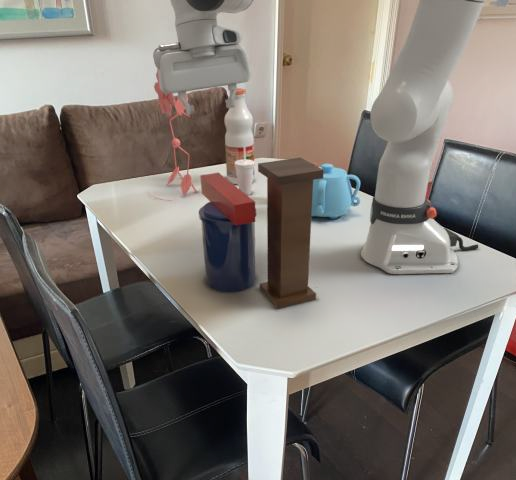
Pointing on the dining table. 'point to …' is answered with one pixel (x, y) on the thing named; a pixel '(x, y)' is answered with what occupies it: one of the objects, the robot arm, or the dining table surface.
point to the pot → (227, 251)
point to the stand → (289, 230)
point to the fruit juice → (238, 135)
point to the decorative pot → (333, 193)
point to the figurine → (165, 104)
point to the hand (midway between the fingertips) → (211, 110)
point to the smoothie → (245, 174)
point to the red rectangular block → (228, 198)
